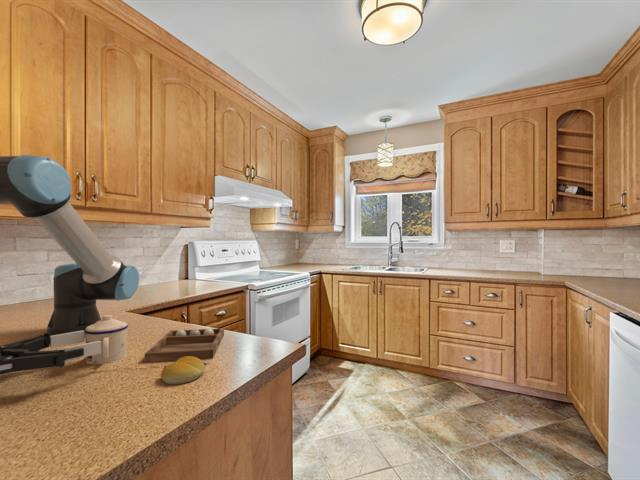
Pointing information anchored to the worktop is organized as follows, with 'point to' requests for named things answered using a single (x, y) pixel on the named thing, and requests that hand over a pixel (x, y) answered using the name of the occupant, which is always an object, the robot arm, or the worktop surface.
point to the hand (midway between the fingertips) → (91, 341)
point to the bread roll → (183, 370)
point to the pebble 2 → (195, 332)
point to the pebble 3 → (208, 332)
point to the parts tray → (185, 346)
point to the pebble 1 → (180, 333)
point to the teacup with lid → (108, 340)
